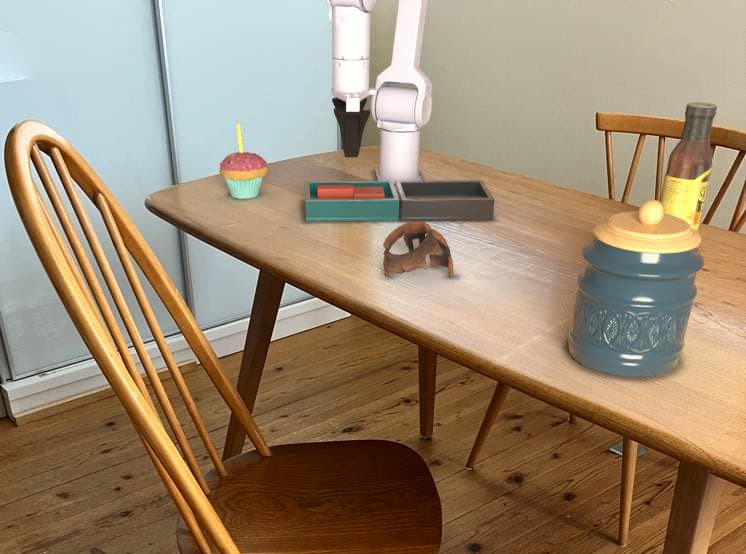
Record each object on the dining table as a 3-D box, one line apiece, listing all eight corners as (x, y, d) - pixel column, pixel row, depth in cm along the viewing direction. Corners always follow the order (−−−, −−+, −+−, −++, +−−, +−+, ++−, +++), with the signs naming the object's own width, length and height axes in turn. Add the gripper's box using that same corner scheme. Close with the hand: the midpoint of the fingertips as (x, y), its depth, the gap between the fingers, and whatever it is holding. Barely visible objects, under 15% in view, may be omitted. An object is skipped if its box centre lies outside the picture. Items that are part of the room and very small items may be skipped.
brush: (317, 203, 153) (317, 182, 151) (382, 203, 153) (382, 182, 151) (317, 211, 149) (317, 190, 147) (384, 211, 149) (384, 190, 147)
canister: (596, 324, 113) (623, 177, 103) (697, 352, 107) (736, 198, 96) (545, 358, 105) (569, 202, 95) (651, 390, 98) (688, 226, 88)
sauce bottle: (695, 255, 134) (730, 110, 122) (652, 252, 135) (682, 108, 123) (690, 242, 139) (723, 101, 127) (649, 239, 140) (677, 99, 128)
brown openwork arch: (464, 288, 124) (444, 241, 118) (401, 316, 127) (378, 272, 121) (449, 238, 132) (428, 193, 126) (389, 266, 134) (367, 222, 128)
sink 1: (305, 201, 156) (304, 181, 154) (392, 201, 156) (392, 180, 154) (305, 222, 147) (305, 200, 145) (398, 221, 147) (399, 199, 145)
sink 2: (394, 201, 156) (395, 180, 154) (480, 200, 157) (482, 179, 155) (400, 221, 147) (401, 199, 145) (492, 220, 148) (494, 199, 146)
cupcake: (214, 191, 161) (209, 118, 153) (259, 186, 163) (256, 114, 156) (230, 204, 154) (225, 129, 147) (277, 198, 157) (274, 124, 150)
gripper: (380, 65, 133) (377, 162, 141) (373, 49, 145) (371, 140, 153) (332, 65, 133) (332, 162, 141) (329, 50, 144) (330, 140, 153)
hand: (350, 151), depth 147 cm, fingers open, 7 cm apart
